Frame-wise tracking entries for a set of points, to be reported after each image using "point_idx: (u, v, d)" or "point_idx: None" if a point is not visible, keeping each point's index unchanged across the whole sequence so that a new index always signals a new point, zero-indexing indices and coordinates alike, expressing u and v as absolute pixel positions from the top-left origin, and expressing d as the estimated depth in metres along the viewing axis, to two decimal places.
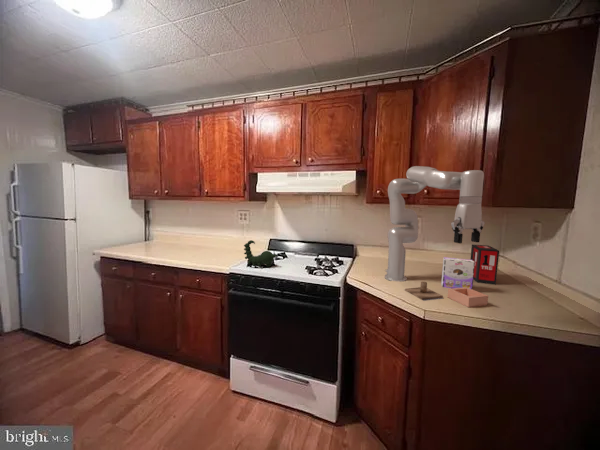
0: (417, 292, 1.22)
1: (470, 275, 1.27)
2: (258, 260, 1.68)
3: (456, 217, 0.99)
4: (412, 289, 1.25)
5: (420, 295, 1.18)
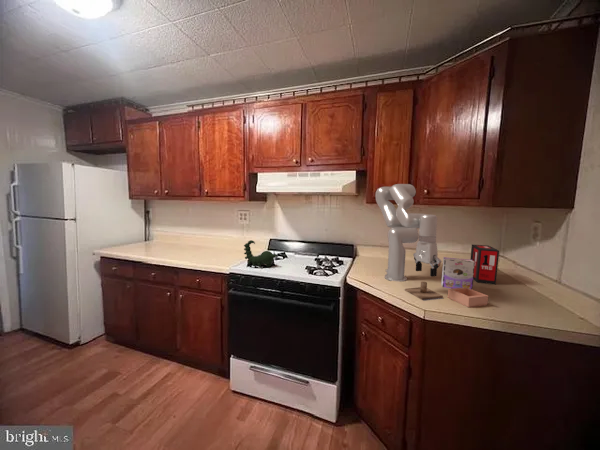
0: (417, 292, 1.22)
1: (470, 275, 1.27)
2: (258, 260, 1.68)
3: (432, 255, 1.14)
4: (412, 289, 1.25)
5: (420, 295, 1.18)
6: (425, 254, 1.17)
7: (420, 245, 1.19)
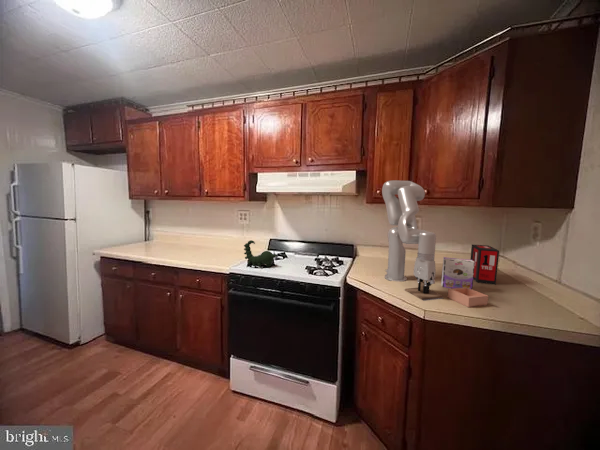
0: (417, 292, 1.22)
1: (470, 275, 1.27)
2: (258, 260, 1.68)
3: (430, 272, 1.16)
4: (412, 289, 1.25)
5: (420, 295, 1.18)
6: (423, 271, 1.18)
7: (419, 261, 1.21)
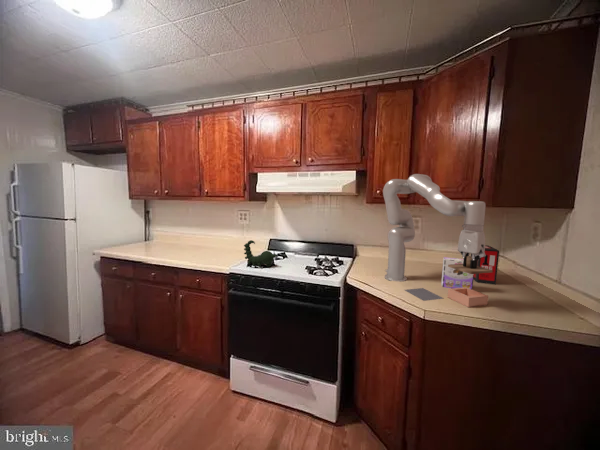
0: (463, 267, 1.12)
1: (470, 275, 1.27)
2: (258, 260, 1.68)
3: (480, 244, 1.06)
4: (456, 265, 1.16)
5: (468, 270, 1.08)
6: (471, 244, 1.08)
7: (465, 234, 1.11)
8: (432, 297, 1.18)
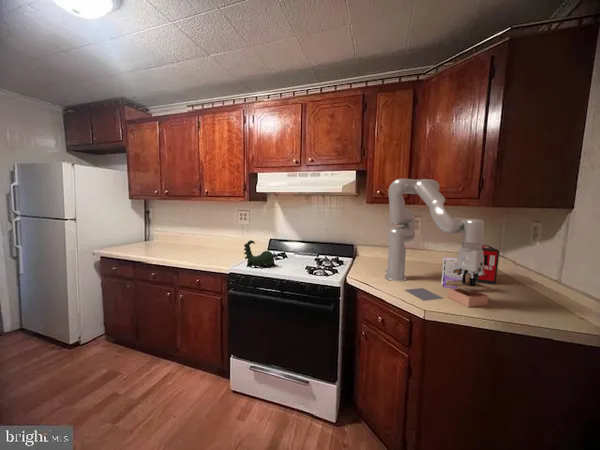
0: (462, 284, 1.13)
1: None
2: (258, 260, 1.68)
3: (478, 263, 1.07)
4: (455, 282, 1.16)
5: (467, 287, 1.09)
6: (470, 262, 1.09)
7: (464, 251, 1.12)
8: (432, 297, 1.18)
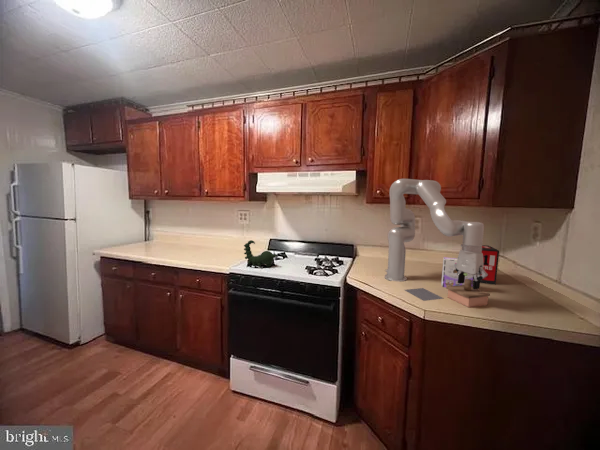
0: (461, 290, 1.13)
1: (470, 275, 1.27)
2: (258, 260, 1.68)
3: (478, 265, 1.07)
4: (454, 287, 1.17)
5: (466, 293, 1.09)
6: (470, 264, 1.09)
7: (464, 254, 1.12)
8: (432, 297, 1.18)
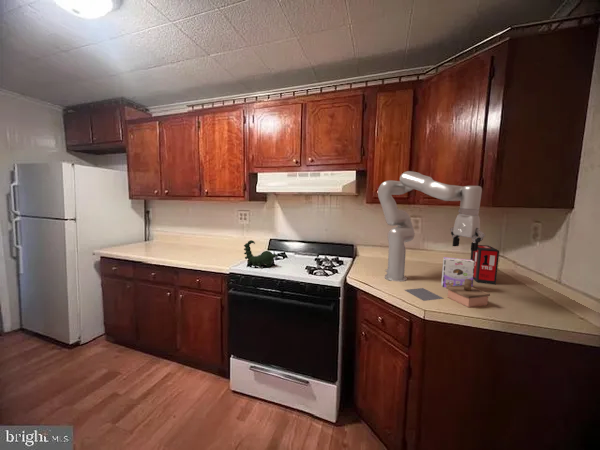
0: (461, 290, 1.13)
1: (470, 275, 1.27)
2: (258, 260, 1.68)
3: (474, 228, 1.08)
4: (454, 287, 1.17)
5: (466, 293, 1.09)
6: (466, 227, 1.10)
7: (461, 218, 1.13)
8: (432, 297, 1.18)
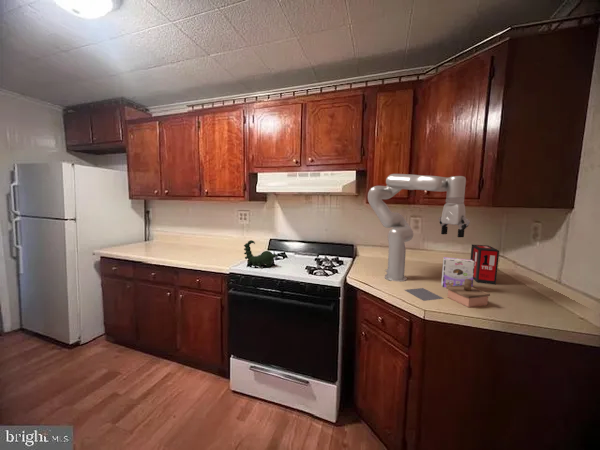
0: (461, 290, 1.13)
1: (470, 275, 1.27)
2: (258, 260, 1.68)
3: (460, 215, 1.15)
4: (454, 287, 1.17)
5: (466, 293, 1.09)
6: (453, 215, 1.17)
7: (448, 207, 1.20)
8: (432, 297, 1.18)
